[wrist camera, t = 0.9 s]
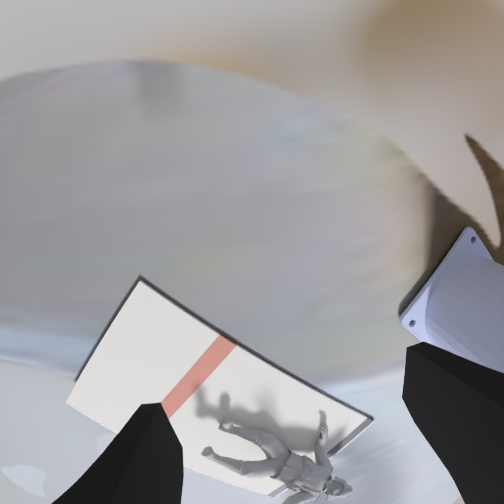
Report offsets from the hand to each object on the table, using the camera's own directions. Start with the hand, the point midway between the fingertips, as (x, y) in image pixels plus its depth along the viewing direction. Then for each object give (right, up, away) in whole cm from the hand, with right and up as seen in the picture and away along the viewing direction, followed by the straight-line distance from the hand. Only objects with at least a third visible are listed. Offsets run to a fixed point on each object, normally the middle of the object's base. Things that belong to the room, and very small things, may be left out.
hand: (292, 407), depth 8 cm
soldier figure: (+1, -10, +13) cm, 17 cm away
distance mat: (-3, -8, +12) cm, 14 cm away
